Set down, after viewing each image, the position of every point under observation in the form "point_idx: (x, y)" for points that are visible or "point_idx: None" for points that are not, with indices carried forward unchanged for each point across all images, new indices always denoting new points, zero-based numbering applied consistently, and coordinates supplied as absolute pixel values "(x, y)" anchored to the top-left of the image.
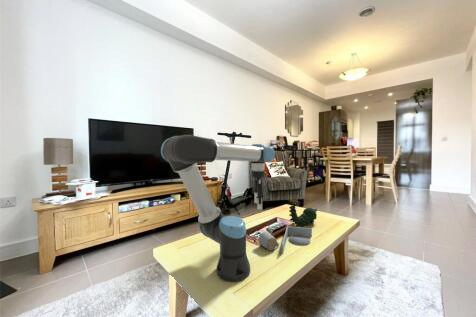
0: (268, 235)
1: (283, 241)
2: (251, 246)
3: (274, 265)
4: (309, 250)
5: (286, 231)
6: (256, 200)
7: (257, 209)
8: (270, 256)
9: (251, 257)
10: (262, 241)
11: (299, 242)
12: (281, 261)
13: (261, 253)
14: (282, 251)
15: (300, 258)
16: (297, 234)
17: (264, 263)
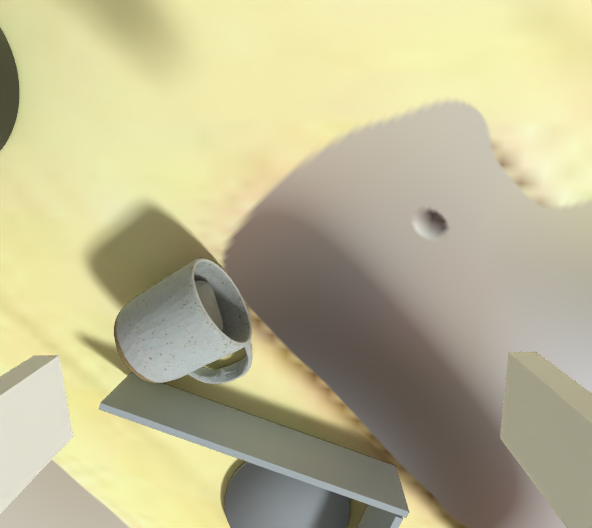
0: (154, 343)
1: (137, 420)
2: (214, 203)
3: (11, 308)
4: (170, 513)
5: (300, 479)
6: (541, 432)
7: (34, 358)
8: (96, 304)
9: (78, 192)
10: (156, 284)
11: (248, 497)
12: (51, 350)
13: (126, 258)
14: (124, 380)
15: (88, 447)
16: (362, 521)
17: (24, 260)
